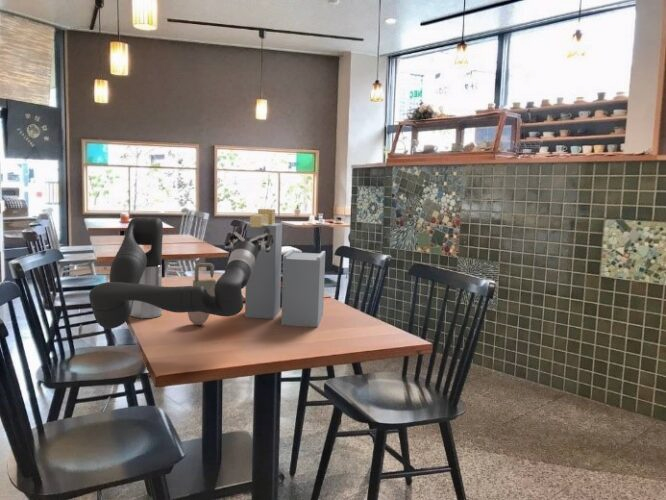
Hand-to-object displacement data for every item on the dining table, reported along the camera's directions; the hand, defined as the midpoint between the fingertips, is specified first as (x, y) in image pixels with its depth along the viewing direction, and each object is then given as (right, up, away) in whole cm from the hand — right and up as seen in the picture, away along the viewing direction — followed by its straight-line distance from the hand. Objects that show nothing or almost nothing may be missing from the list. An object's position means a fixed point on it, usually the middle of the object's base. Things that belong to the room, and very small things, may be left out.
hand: (253, 228), depth 173 cm
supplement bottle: (+7, -28, +36) cm, 46 cm away
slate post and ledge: (+8, -30, +16) cm, 35 cm away
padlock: (-25, -27, +37) cm, 52 cm away
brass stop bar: (+1, +2, +11) cm, 11 cm away
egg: (-18, -31, +3) cm, 36 cm away
